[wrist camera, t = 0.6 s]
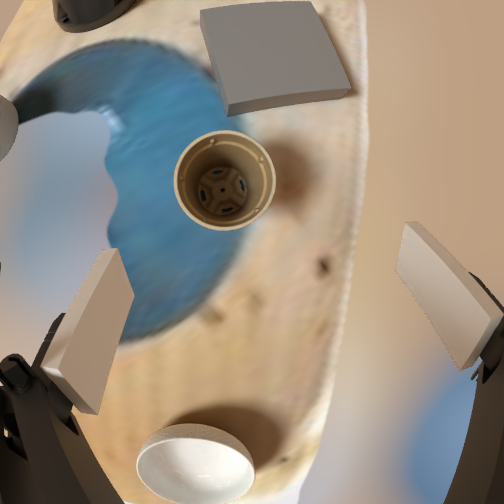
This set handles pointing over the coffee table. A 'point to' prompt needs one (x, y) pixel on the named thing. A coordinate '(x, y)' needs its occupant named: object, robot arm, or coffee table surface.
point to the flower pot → (224, 180)
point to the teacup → (7, 126)
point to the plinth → (271, 55)
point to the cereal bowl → (195, 465)
